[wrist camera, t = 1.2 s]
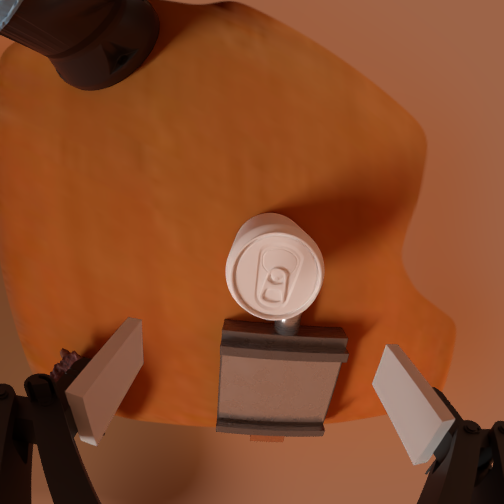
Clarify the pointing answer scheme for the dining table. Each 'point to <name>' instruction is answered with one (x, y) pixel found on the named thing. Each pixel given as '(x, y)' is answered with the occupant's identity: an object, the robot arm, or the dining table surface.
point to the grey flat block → (277, 378)
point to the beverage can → (274, 267)
